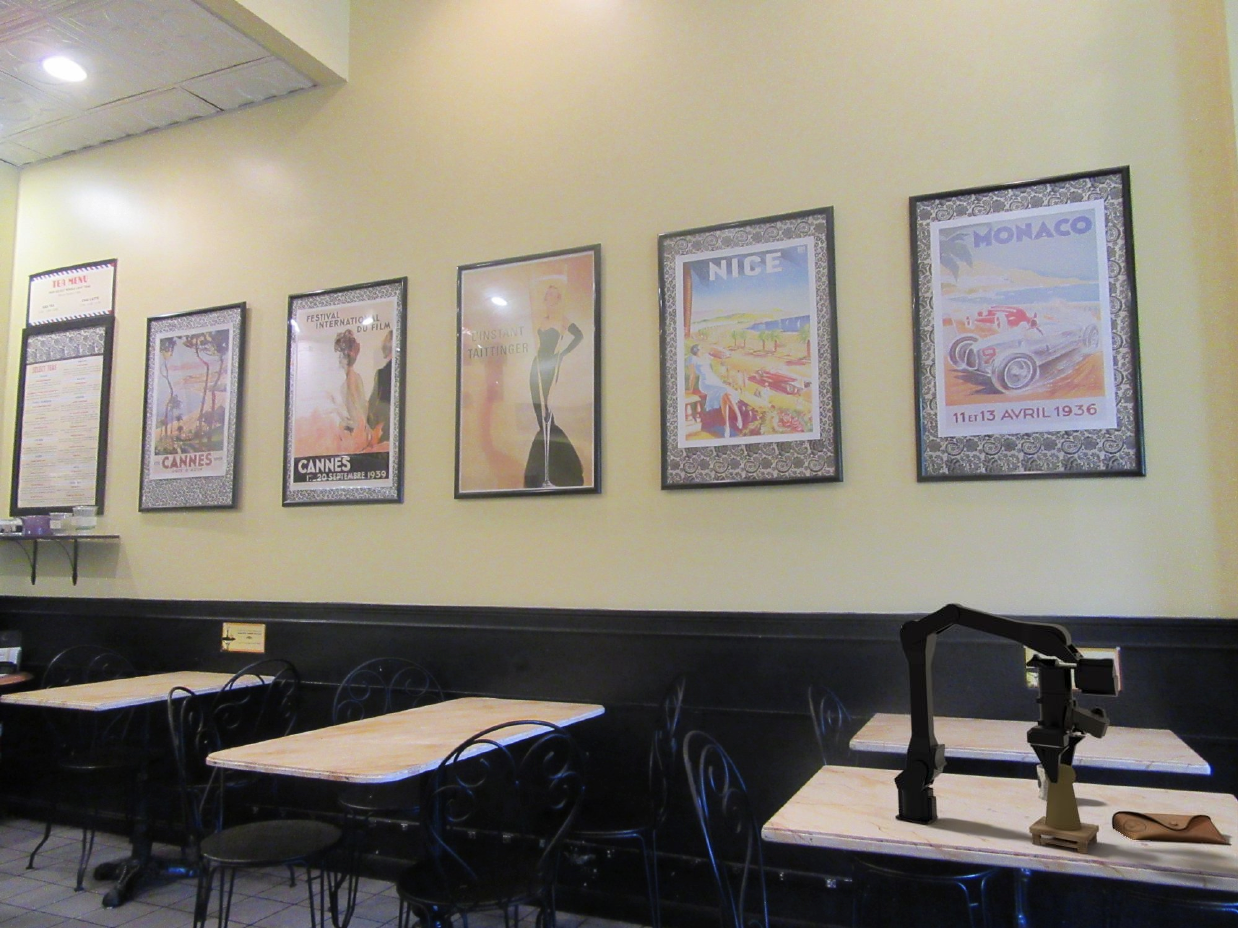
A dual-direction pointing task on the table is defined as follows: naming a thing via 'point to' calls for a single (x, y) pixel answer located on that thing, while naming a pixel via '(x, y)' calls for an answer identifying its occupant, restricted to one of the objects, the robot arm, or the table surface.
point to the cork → (1062, 801)
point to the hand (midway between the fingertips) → (1060, 778)
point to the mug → (1042, 783)
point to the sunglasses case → (1167, 827)
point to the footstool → (1064, 835)
